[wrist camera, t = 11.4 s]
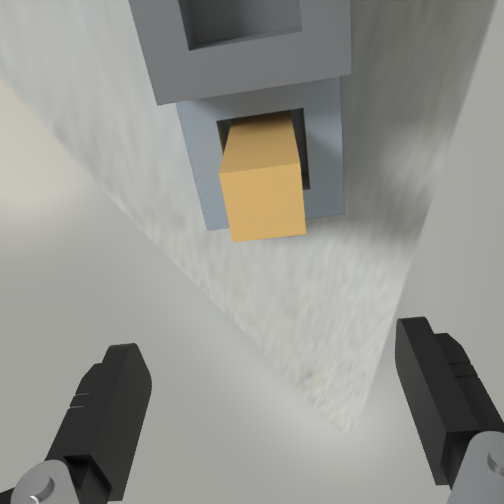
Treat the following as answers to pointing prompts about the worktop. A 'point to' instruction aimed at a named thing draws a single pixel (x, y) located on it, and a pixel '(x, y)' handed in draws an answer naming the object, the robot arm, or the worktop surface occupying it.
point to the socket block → (252, 83)
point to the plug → (262, 178)
